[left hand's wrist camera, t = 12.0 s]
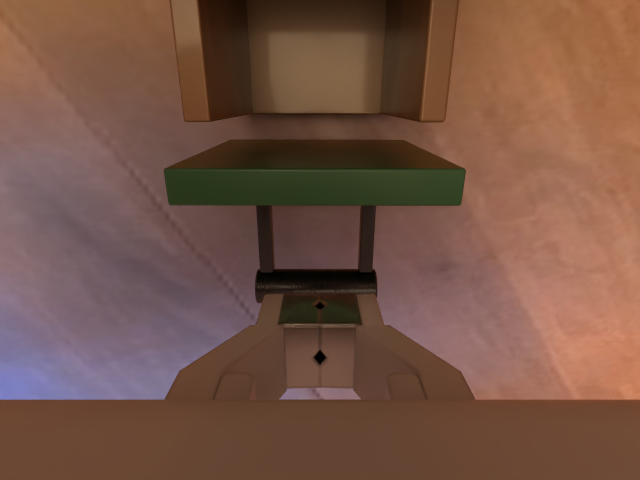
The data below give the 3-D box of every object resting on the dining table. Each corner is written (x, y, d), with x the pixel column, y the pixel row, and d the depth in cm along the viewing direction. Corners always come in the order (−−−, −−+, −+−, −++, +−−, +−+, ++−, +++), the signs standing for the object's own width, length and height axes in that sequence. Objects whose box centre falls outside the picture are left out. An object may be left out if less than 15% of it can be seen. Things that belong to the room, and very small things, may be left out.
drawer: (394, 259, 22) (440, 356, 14) (239, 259, 22) (190, 356, 14) (426, -139, 16) (548, -414, 7) (206, -140, 16) (76, -416, 7)
